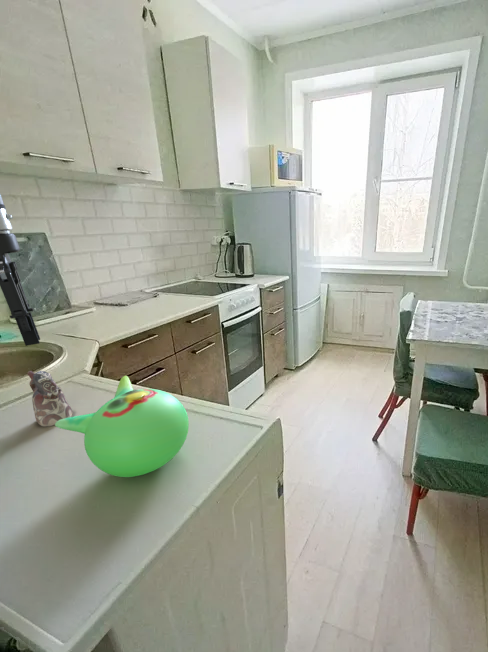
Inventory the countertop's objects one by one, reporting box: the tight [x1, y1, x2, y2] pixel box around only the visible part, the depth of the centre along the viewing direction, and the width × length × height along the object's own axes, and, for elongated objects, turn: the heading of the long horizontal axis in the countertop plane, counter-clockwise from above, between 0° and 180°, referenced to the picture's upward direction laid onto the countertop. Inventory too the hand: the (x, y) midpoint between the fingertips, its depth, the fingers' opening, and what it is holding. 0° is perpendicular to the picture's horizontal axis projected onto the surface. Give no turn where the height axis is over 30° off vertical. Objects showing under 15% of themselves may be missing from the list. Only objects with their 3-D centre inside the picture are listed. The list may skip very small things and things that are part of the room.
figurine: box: [26, 370, 74, 427], centre depth 80 cm, size 7×7×12 cm
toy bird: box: [54, 375, 190, 478], centre depth 63 cm, size 18×17×15 cm
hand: (33, 342), depth 82 cm, fingers open, 3 cm apart
